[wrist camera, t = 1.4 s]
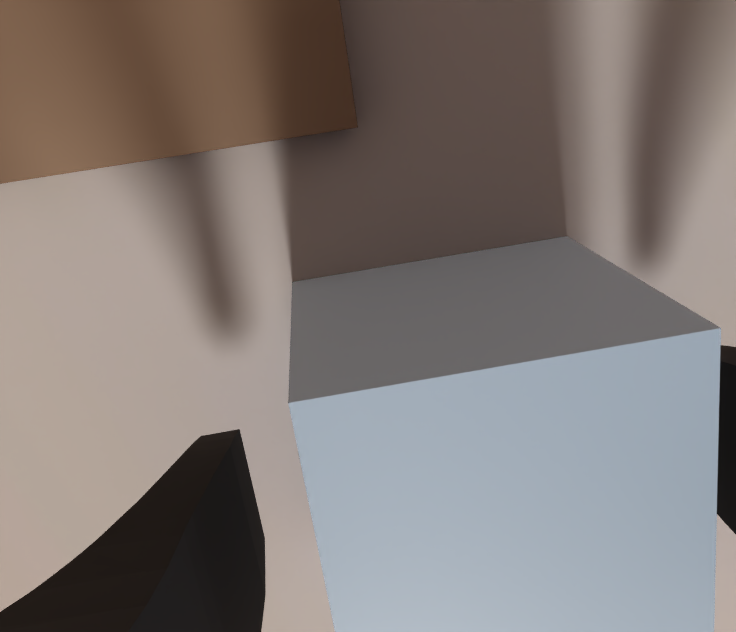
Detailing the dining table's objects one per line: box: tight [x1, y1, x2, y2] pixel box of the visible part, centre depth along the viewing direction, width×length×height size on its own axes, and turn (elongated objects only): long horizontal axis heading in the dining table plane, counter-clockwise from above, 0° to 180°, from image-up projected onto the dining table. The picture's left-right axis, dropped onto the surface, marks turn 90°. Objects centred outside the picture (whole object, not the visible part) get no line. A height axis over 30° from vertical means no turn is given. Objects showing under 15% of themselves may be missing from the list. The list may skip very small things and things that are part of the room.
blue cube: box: [288, 236, 721, 632], centre depth 11 cm, size 5×5×5 cm
